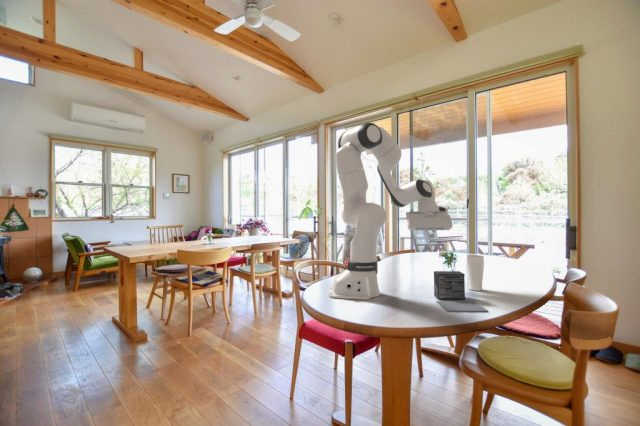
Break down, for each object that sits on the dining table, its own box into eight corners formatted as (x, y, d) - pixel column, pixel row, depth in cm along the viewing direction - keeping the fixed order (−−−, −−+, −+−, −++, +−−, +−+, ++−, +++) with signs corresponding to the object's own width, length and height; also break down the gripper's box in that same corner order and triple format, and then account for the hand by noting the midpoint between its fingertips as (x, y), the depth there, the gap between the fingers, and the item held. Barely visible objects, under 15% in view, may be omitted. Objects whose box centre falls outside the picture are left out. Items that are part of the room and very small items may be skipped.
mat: (447, 312, 107) (447, 310, 107) (436, 302, 118) (436, 301, 118) (488, 312, 106) (488, 310, 106) (473, 302, 117) (473, 301, 117)
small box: (459, 295, 126) (459, 270, 126) (465, 300, 120) (465, 274, 119) (433, 295, 127) (433, 270, 127) (437, 300, 121) (437, 273, 121)
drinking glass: (483, 292, 130) (483, 257, 130) (465, 290, 134) (465, 256, 133) (484, 288, 136) (484, 255, 136) (467, 287, 139) (467, 254, 139)
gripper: (407, 208, 146) (409, 235, 140) (451, 208, 144) (455, 235, 138) (404, 214, 151) (407, 240, 146) (447, 214, 150) (451, 240, 144)
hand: (431, 238), depth 142 cm, fingers closed
